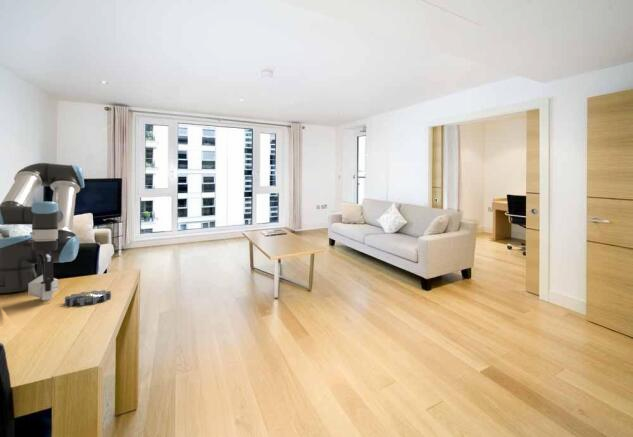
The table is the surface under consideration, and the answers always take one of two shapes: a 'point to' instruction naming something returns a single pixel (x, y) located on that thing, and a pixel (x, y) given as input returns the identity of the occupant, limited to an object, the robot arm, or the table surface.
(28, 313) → the table surface
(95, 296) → the gear plate
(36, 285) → the die
